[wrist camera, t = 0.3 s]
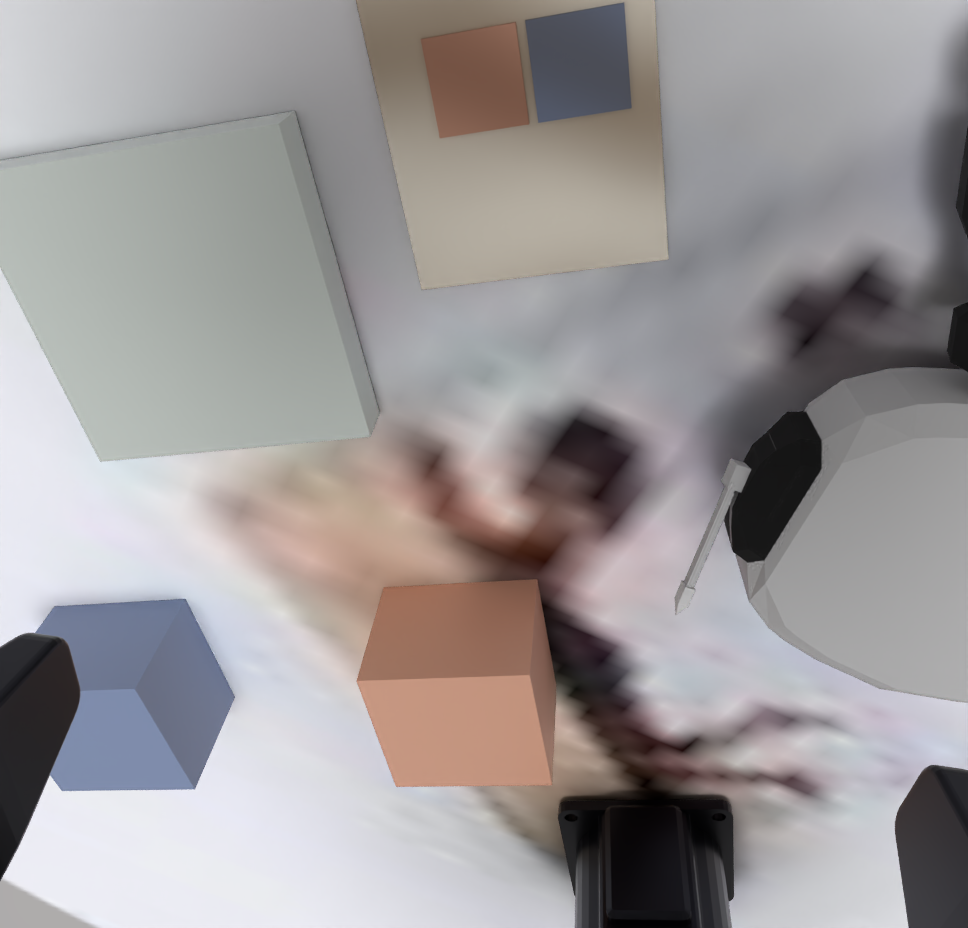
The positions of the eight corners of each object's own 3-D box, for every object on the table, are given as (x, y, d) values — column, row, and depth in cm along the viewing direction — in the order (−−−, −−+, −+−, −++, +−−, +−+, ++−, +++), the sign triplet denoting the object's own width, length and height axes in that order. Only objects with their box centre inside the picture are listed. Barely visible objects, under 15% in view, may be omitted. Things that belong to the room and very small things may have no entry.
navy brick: (236, 694, 31) (194, 789, 28) (115, 698, 32) (61, 790, 29) (186, 596, 29) (134, 688, 25) (56, 603, 30) (-10, 694, 26)
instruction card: (667, 256, 20) (668, 261, 20) (422, 286, 21) (420, 291, 21) (641, -226, 15) (643, -227, 15) (323, -153, 16) (319, -153, 16)
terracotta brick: (556, 683, 29) (552, 785, 26) (417, 687, 30) (396, 786, 27) (537, 576, 26) (529, 675, 23) (384, 584, 27) (356, 680, 24)
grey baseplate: (379, 413, 23) (370, 436, 22) (120, 438, 25) (100, 461, 24) (294, 111, 19) (278, 123, 18) (-16, 162, 20) (-47, 177, 19)
